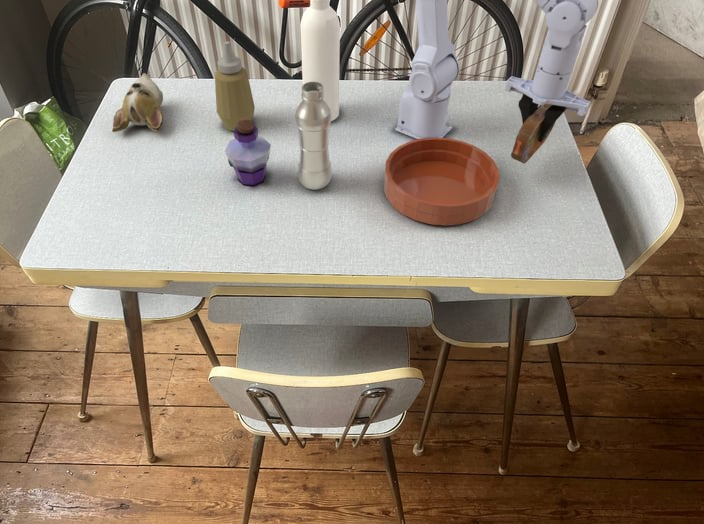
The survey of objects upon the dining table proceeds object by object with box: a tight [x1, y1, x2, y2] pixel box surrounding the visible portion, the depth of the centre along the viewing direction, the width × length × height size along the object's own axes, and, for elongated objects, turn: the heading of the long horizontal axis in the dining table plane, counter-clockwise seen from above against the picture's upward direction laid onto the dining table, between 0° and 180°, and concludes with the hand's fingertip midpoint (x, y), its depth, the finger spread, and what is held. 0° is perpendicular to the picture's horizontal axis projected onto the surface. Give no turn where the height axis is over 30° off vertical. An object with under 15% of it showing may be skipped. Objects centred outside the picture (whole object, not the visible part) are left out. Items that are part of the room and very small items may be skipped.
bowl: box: [383, 137, 500, 226], centre depth 106 cm, size 20×20×5 cm
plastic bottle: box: [294, 81, 333, 191], centre depth 103 cm, size 6×7×20 cm
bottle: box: [299, 0, 341, 122], centre depth 115 cm, size 8×8×30 cm
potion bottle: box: [224, 119, 272, 187], centre depth 107 cm, size 9×9×12 cm
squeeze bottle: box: [214, 40, 255, 132], centre depth 117 cm, size 8×8×18 cm
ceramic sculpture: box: [111, 72, 164, 133], centre depth 122 cm, size 11×9×15 cm
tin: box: [510, 104, 557, 164], centre depth 106 cm, size 15×3×8 cm, turn 142°
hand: (533, 136), depth 107 cm, fingers closed on tin, 2 cm apart
